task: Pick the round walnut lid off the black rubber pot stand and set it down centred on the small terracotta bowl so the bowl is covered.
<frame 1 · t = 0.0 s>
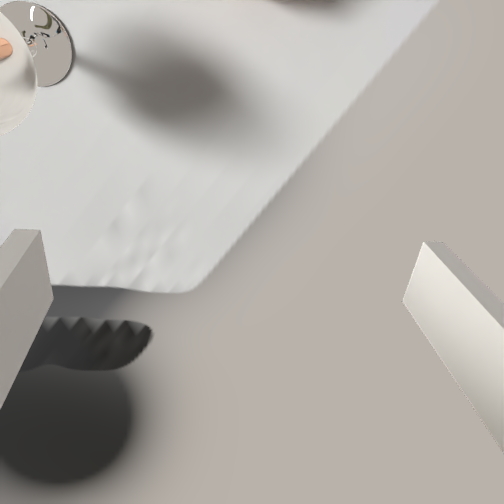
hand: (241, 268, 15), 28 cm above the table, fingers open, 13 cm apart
wineglass: (33, 45, 35), on the table
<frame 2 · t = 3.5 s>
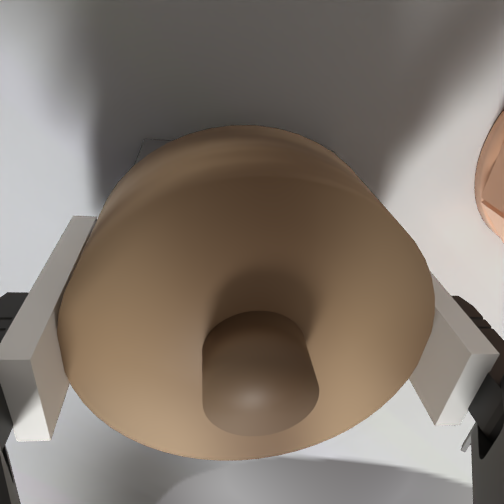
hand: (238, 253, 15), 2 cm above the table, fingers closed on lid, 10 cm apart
stand: (234, 228, 17), on the table
lid: (241, 268, 15), point 3 cm above the table, touching gripper, stand
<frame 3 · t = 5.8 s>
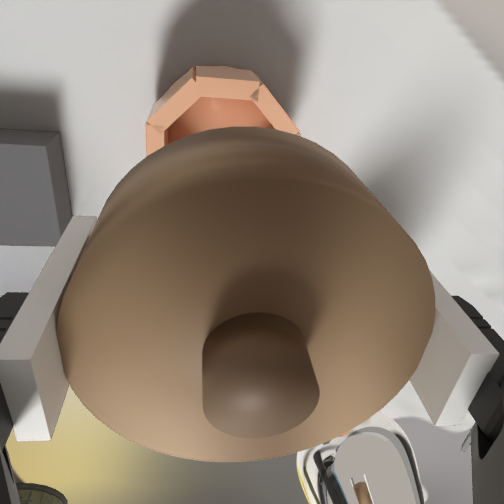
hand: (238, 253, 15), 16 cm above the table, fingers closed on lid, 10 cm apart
stand: (13, 179, 29), on the table
lid: (241, 269, 15), point 17 cm above the table, touching gripper
bowl: (219, 134, 29), on the table
thermos: (30, 502, 49), on the table
wineglass: (312, 336, 40), on the table
when the fingers open (6 cm above the table, at t = 8.1 s): lid drops 2 cm, resting on bowl.
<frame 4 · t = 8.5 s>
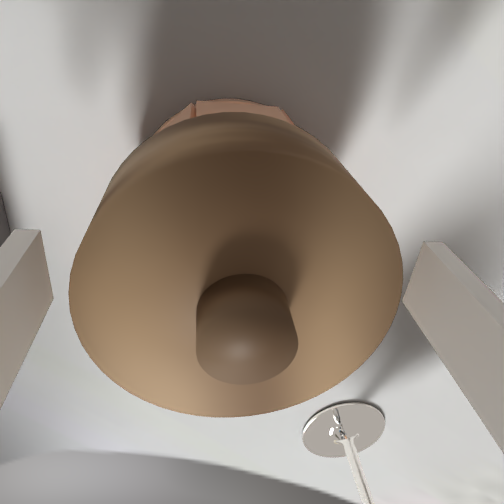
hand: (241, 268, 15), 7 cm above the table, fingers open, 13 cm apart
lid: (233, 244, 16), point 5 cm above the table, touching bowl
bowl: (229, 192, 20), on the table
wineglass: (342, 427, 32), on the table
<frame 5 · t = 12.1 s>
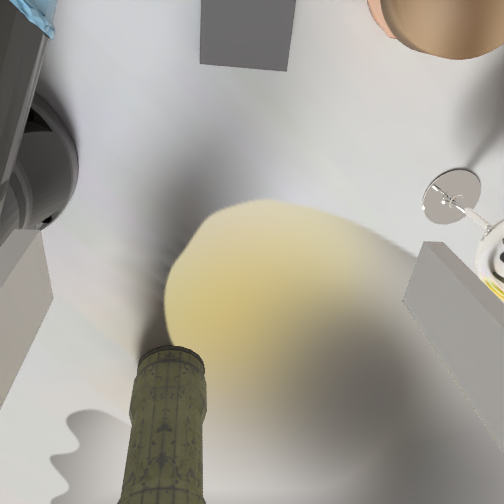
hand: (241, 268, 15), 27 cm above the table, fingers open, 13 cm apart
stand: (244, 16, 34), on the table
thermos: (172, 368, 54), on the table
wineglass: (450, 196, 45), on the table
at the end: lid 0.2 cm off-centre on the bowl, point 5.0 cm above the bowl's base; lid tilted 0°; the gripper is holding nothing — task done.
